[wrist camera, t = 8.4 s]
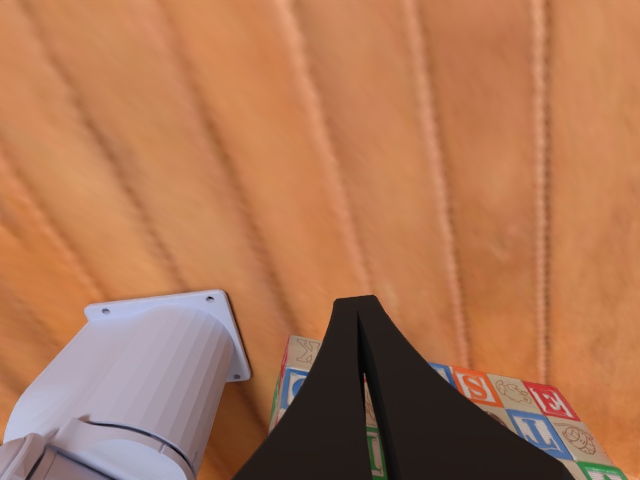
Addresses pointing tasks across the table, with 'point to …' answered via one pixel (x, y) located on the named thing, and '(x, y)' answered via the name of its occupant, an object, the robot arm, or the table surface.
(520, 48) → the table surface
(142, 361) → the robot arm
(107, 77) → the table surface
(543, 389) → the stack of blocks
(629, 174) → the table surface
